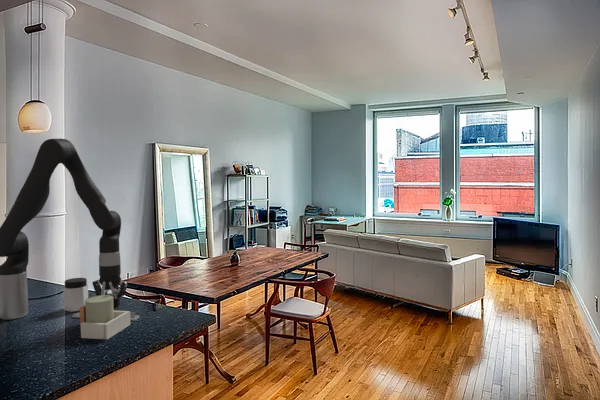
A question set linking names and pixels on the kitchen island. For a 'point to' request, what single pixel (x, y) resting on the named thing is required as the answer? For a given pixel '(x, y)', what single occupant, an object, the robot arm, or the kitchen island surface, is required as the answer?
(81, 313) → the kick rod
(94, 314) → the can
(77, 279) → the jar
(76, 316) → the rail
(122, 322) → the frame
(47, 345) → the kitchen island surface
